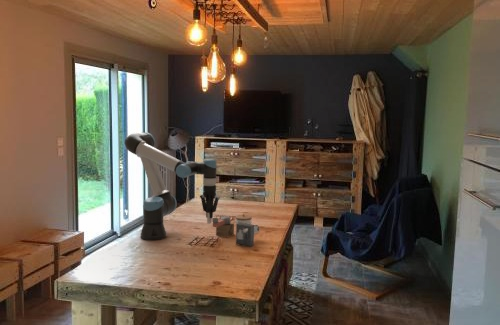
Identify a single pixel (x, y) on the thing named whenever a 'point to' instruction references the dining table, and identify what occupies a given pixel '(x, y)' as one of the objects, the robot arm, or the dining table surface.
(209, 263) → the dining table surface
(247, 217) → the lidded jar
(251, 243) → the dark boxy piece
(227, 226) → the tan square block
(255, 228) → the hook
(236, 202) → the dining table surface
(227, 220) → the ball ended rod
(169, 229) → the dining table surface
